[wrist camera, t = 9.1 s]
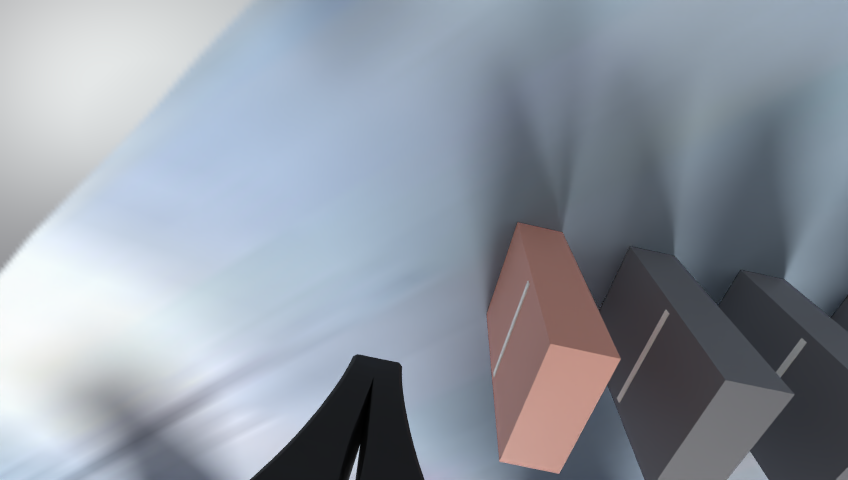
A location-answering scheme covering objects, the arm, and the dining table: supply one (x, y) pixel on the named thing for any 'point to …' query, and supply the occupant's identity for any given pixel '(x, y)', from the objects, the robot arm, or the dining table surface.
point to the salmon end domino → (544, 351)
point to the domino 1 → (684, 373)
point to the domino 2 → (796, 377)
